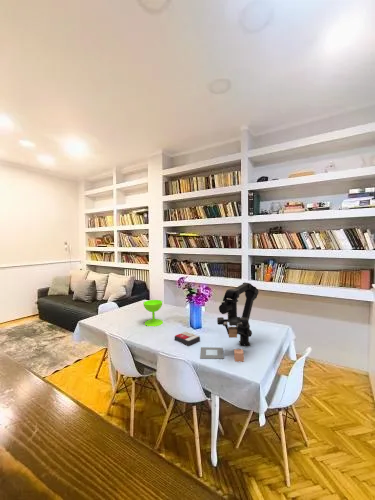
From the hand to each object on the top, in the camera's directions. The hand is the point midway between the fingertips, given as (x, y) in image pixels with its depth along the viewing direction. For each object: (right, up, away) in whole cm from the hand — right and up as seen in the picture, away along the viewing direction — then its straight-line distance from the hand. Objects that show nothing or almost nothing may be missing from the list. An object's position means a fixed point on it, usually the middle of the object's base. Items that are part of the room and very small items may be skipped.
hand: (232, 334), depth 156 cm
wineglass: (-57, -10, +56) cm, 80 cm away
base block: (0, -1, 0) cm, 1 cm away
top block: (+2, -12, -9) cm, 15 cm away
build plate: (-13, -12, -1) cm, 18 cm away
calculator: (-29, -11, +19) cm, 36 cm away
